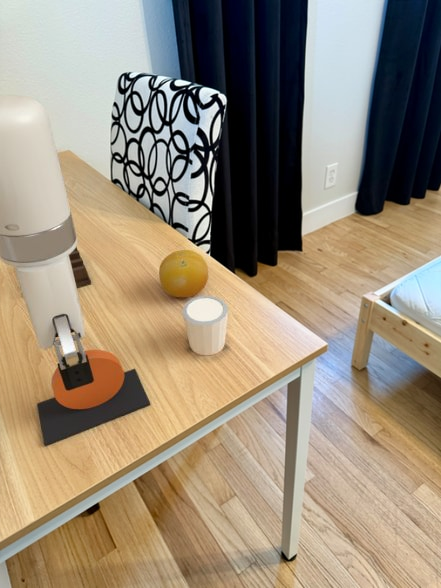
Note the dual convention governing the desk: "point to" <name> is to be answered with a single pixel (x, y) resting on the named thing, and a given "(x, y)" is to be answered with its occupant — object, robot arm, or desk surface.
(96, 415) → the mat
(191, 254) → the fruit
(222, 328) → the shot glass
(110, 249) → the desk surface
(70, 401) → the disc
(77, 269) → the rack
